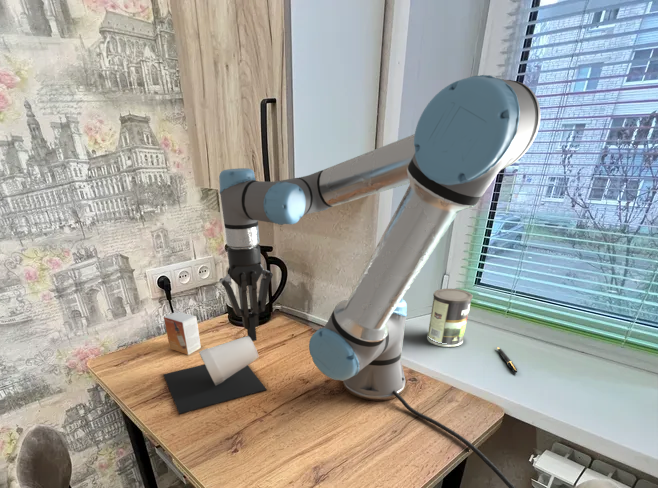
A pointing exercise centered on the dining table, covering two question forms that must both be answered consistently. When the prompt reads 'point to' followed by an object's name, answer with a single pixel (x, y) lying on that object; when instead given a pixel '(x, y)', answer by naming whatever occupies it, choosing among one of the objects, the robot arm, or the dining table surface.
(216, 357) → the foam cup
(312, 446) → the dining table surface
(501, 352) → the fountain pen
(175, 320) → the small box
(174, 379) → the mat
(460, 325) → the coffee can
